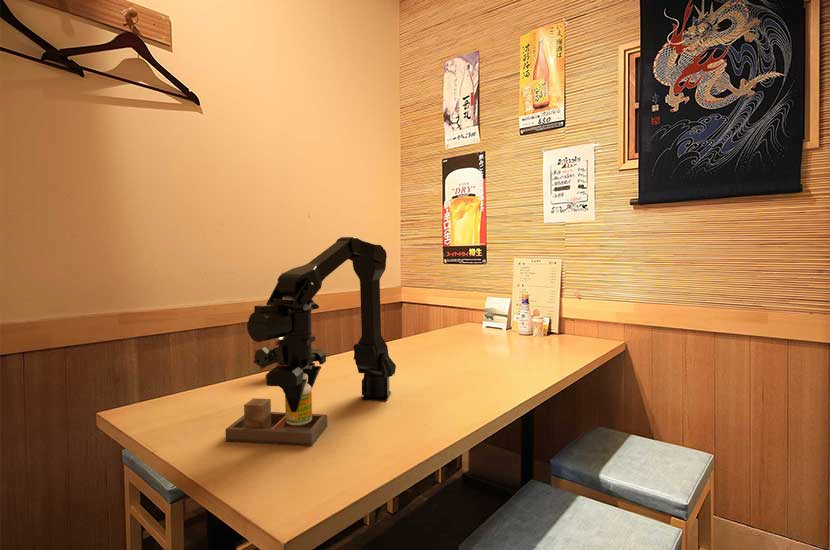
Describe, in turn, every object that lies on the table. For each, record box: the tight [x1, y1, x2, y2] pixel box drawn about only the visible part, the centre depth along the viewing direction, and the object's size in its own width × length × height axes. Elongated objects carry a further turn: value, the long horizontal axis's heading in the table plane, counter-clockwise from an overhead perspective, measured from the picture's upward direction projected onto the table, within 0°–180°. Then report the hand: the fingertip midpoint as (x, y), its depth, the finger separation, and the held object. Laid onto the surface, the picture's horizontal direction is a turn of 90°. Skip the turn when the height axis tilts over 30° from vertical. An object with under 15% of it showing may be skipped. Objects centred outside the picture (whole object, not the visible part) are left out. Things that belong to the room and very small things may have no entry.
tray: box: [225, 411, 328, 447], centre depth 95 cm, size 18×10×3 cm, turn 83°
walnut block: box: [243, 397, 272, 429], centre depth 96 cm, size 4×4×6 cm
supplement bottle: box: [284, 373, 313, 425], centre depth 94 cm, size 5×5×10 cm
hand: (299, 406), depth 94 cm, fingers closed on supplement bottle, 5 cm apart
